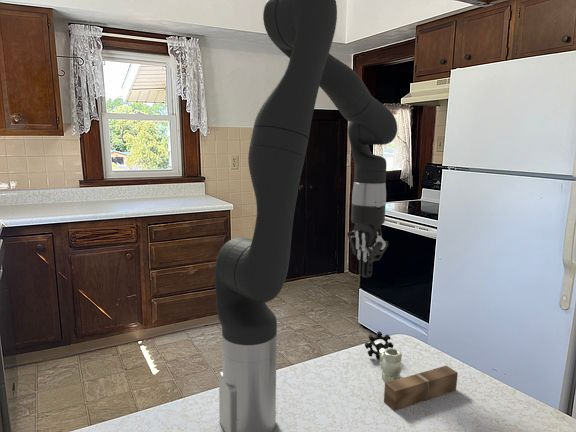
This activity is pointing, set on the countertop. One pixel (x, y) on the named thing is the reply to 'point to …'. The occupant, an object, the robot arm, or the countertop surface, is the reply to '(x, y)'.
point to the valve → (386, 357)
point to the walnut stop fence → (420, 387)
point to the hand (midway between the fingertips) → (365, 275)
